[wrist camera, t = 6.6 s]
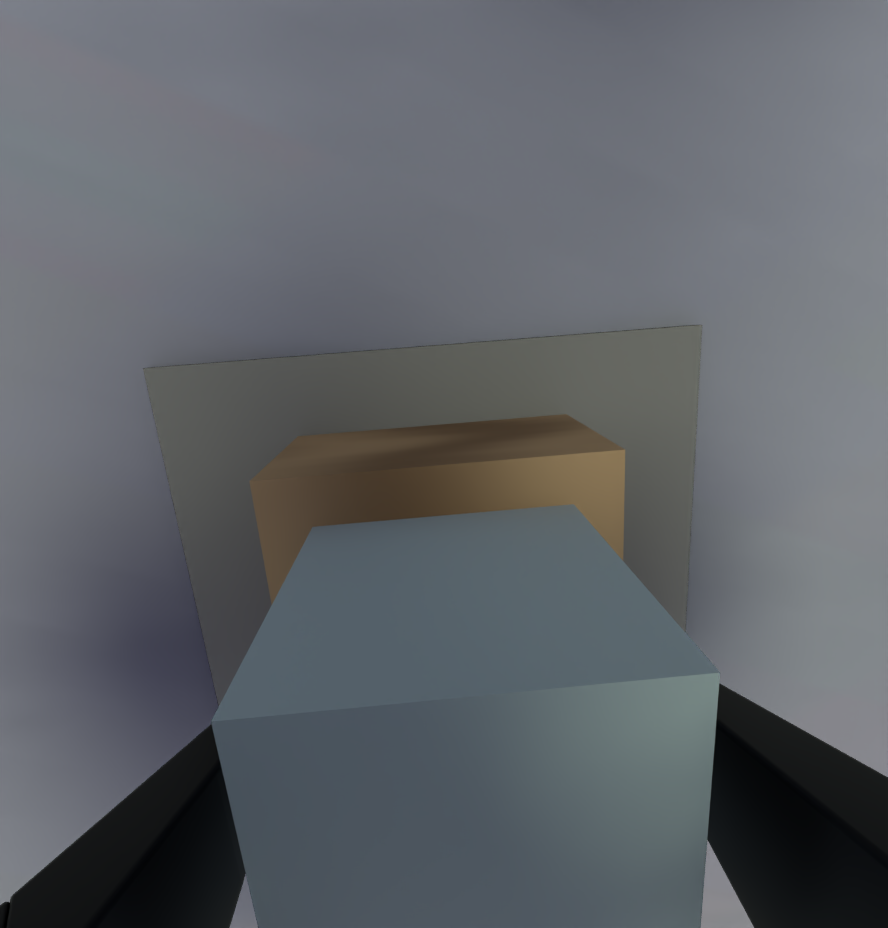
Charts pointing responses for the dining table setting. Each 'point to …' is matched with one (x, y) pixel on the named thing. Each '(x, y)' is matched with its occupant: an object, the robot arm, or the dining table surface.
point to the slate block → (470, 733)
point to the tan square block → (435, 479)
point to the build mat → (409, 405)
